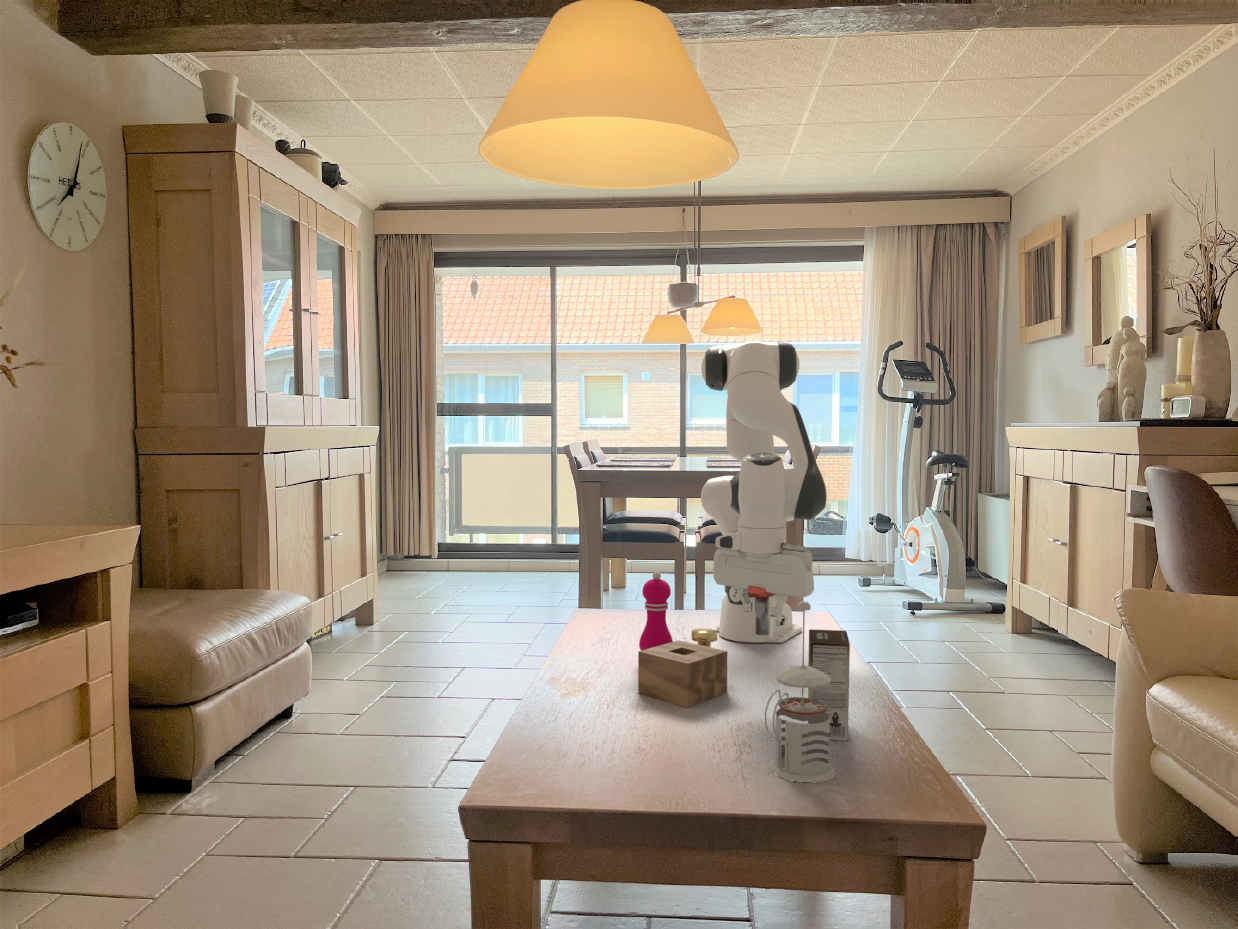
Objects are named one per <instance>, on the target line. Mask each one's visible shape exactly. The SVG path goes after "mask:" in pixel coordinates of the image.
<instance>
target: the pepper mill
mask: <svg viewBox="0 0 1238 929" xmlns="http://www.w3.org/2000/svg"><path fill="white" fill-rule="evenodd" d="M661 577H662V576H661V573H660V572H659V571H655V572H653V573H652V579H649V580H647V581H646V582H645V583H644V585H643V587H642V596H643V598H644V599H645V602H644V609H645V610H646V623H645V626H644V629H643V631H642V633H641V635H640V637H639V643H638V645H639V649H640V650H639V651H642V650H646V649H649V648H653V647H656V646H660V645H663V644H667V643H670V642H674V641H673V638H672V633H671V631H670V630H669V627H668V625H667V620H666V619H667V618H666V616H667V615H666V614H667V610H668V609H669V606H668V605H669V602H668V599H669V598H670V597H671V594H672V589H671V586H670V584H669V583H668V582H667V581H666V580H664V579H661Z"/></svg>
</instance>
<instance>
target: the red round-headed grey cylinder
mask: <svg viewBox="0 0 1238 929" xmlns="http://www.w3.org/2000/svg"><path fill="white" fill-rule="evenodd" d="M748 594H749V595H751V596H755V634H757V635H768V634H769V597H771V596H775V593H768V592H766V589H765V588H760V587H754V586H748Z"/></svg>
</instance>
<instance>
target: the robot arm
mask: <svg viewBox="0 0 1238 929" xmlns="http://www.w3.org/2000/svg"><path fill="white" fill-rule="evenodd" d="M704 353H705V354H704V355H703V358H702V362H701V366H700V367H701V368H700V369H701V375H702V378H703V380H704V382H705V385H706V386H707V387H708V388H709V389H710V390H714V391H719V392H723V391H727V392H726V393H727V397H726V398H727V400H726V411H725V412H726V413H725V414H726V417H725V421H726V422H725V423H726V424H725V425H726V427H725V428H726V449H727V452H728V454H729V455H730V456H731V457H732V458H733V459H734V460H736V461H738V462H739V463H740V470H739V471H737V473H735V474H734V475H723V476H717V477H712V478H709V479H708V480H707V481H706V482H705V484H704V485H703V487H702V490H701V493H700V501H701V506H702V509H703V510H704V512H705V513H706V514H707V515H708V516H709V517H710V518H711V519H712V520H713V521H714V522H715V523H716V525H717V527H718V529H719V531H720V533H721V535H720V536H716V538H715V546H716V547H717V549H716V551H715V552H714V556H713V563H712V564H713V567H712V570H713V571H712V572H713V573H712V576H713V580H714V581H715V583H716V585H721V586H724V593H725V595H724V597H723V598H722V599H721V608H720V617H719V618H720V620H719V624H718V625H716V629H715V630H716V631H717V632H718V633H719V634H718V635H719V636H720V637H721V638H723V639H726V640H731V641H734V642H739V643H740V642H741V643H754V644H755V643H757V644H758V643H780V644H781V643H784V642H786V641H788V640H790V639H792V637H794V636H796V635H798V634H799V633H801V632H803V626H800V625H797V624H794V623H793V611H792V608H791V606H790V605H789V604H787V601H788V597H793V598H800V599H802V598H806V597H809V596H811V595H812V594H813V593H814V592H815V581H814V580H815V577H814V572H813V553H812V552H811V551H810V550H809V549H808V548H807V547H806V546H805V545H801V544H797V545H796V544H792V543H791V544H790V543H787V522H792V521H794V520H805V521H811V520H812V519H814V518H816V517H817V516H818V515H819V514H821V513H822V512H823V511H824V510H825V508H826V505H827V498H828V494H827V486H826V483H825V481H824V478H823V475H822V473H821V471H820V467H819V466H818V463H817V461H816V457H815V454H814V451H813V448H812V445H811V441H810V438H809V435H808V432H807V429H806V426H805V422H804V420H803V416H802V414H801V413H800V410H799V408H798V406H797V405H796V404H794V403H792V402H790V401H789V400H788V399H787V398H786V397H785V396H784V395H783V392H782V390H784V389H787V388H789V387H791V386H792V385H793V384H794V383H795V382H796V380H797V377H798V375H799V372H800V365H801V364H800V358H799V355H798V352H797V351H796V347H794V345H793V344H791V343H788V342H783V341H782V342H781V341H778V342H769V341H767V342H766V341H755V340H752V341H751V340H750V341H745V342H741V343H734V344H733V343H732V344H725V345H722V344H718V345H714V346H710V347H709V348H708V349H707V350H705V352H704ZM774 436H775V437H777V438H779V439H781V440H782V441H783V442H784V443H785V444H786V445H787V448H788V452H789V455H790V459H791V463H792V466H793V468H785V466H784V461H783V458H782V457H781V456H779V455H777V454H776V450H775V442H774ZM748 586H754V587H760V588H765V589H766V592H768V593H775V596H771V597H769V634H768V635H757V634H755V596H751V595H749V594H748Z"/></svg>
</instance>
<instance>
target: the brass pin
mask: <svg viewBox="0 0 1238 929" xmlns="http://www.w3.org/2000/svg"><path fill="white" fill-rule="evenodd" d="M691 640H692V641H694V642H697V645H702V646H706V647H711V648H712V646H711V645H712V644H711V643H713V642H717V640H718V631H717V630H716V629H712V628H705V627H704V628H703V627H702V628H693V629H692V630H691Z"/></svg>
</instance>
